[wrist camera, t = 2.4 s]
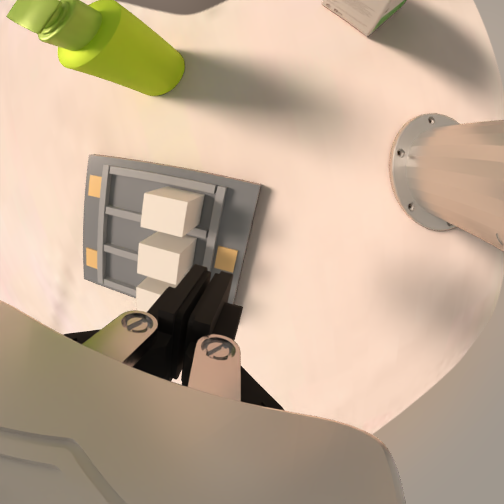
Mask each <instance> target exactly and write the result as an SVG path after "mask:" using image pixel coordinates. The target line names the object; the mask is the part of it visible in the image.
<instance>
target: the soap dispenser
mask: <svg viewBox="0 0 504 504" xmlns="http://www.w3.org/2000/svg"><path fill="white" fill-rule="evenodd" d="M6 17H7V18H9V19H10V20H12V21H13V22H15V23H17V24H19V25H20V26H22V27H24V28H26V29H28V30H30V31H32V32H34V33H37V34H38V37H39V39H40V40H41V41H42V42H45V43H49V44H52V45H55V46H58V58H59V61H60V63H61V64H62V65H63V66H64V67H66V68H69V69H73V70H76V71H80V72H83V73H86V74H90V75H93V76H96V77H99V78H102V79H105V80H108V81H111V82H114V83H117V84H120V85H122V86H125V87H128V88H131V89H133V90H136V91H139V92H141V93H144V94H146V95H150V96H158V95H162V94H165V93H167V92H169V91H170V90H172V89H173V88H174V87H175V86H176V85H177V84H178V83H179V81H180V80H181V78H182V76H183V73H184V69H185V63H184V59H183V57H182V56H181V54H180V53H179V52H178V51H176V50H175V49H174V48H173V47H172V46H171V45H170V44H168V43H167V42H166V41H165V40H164V39H163V38H161V37H160V36H159V35H158V34H157V33H156V32H154V31H153V30H152V29H151V28H149V27H148V26H147V25H146V24H145V23H143V22H142V21H141V20H140V19H138V18H137V17H136V16H134V15H133V14H132V13H131V12H129V11H128V10H127V9H125V8H124V7H123V6H121V5H120V4H119V3H117V2H116V1H114V0H99V1H96V2H94V3H92V4H90V5H87V4H85V3H83V2H81V1H80V0H60V1H59V0H17V1H16V3H15V4H14V6H13V7H12V9H11V10H10V12H9V13H8V15H7V16H6Z"/></svg>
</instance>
